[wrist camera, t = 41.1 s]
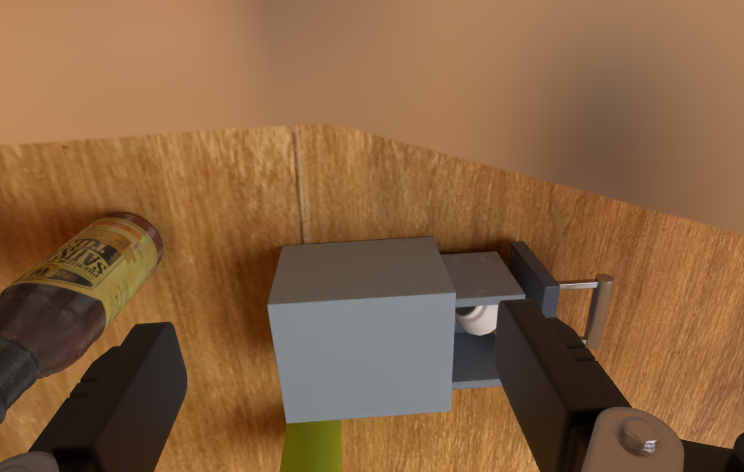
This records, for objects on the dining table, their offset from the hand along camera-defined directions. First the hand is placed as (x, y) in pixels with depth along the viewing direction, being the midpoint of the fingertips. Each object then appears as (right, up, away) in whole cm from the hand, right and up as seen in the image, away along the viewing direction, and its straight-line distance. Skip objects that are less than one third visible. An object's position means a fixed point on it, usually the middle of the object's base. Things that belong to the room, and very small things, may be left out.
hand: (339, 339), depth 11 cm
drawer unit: (0, -3, +32) cm, 33 cm away
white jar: (+11, -4, +29) cm, 31 cm away
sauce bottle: (-21, +2, +29) cm, 36 cm away
